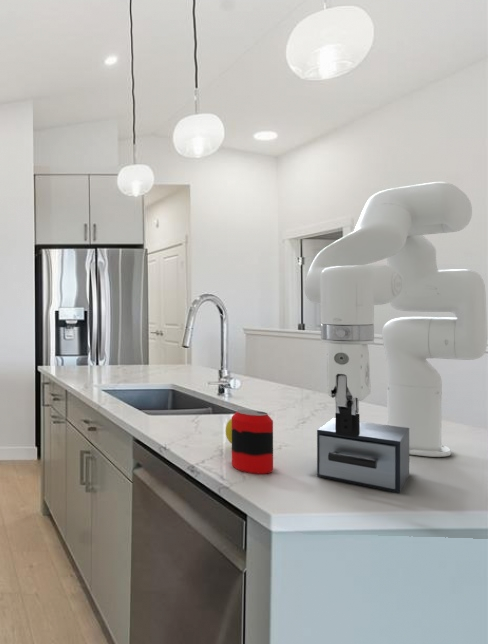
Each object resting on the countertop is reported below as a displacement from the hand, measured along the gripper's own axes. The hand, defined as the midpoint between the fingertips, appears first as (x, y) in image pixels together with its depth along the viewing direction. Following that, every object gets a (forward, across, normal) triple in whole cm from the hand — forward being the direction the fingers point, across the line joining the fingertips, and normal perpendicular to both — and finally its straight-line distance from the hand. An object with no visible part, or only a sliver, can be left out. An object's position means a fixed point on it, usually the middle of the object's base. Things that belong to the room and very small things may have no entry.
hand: (347, 435), depth 91 cm
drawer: (+11, +12, 0) cm, 16 cm away
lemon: (+12, +19, +24) cm, 33 cm away
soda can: (+12, +5, +17) cm, 21 cm away
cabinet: (+12, +16, 0) cm, 20 cm away
